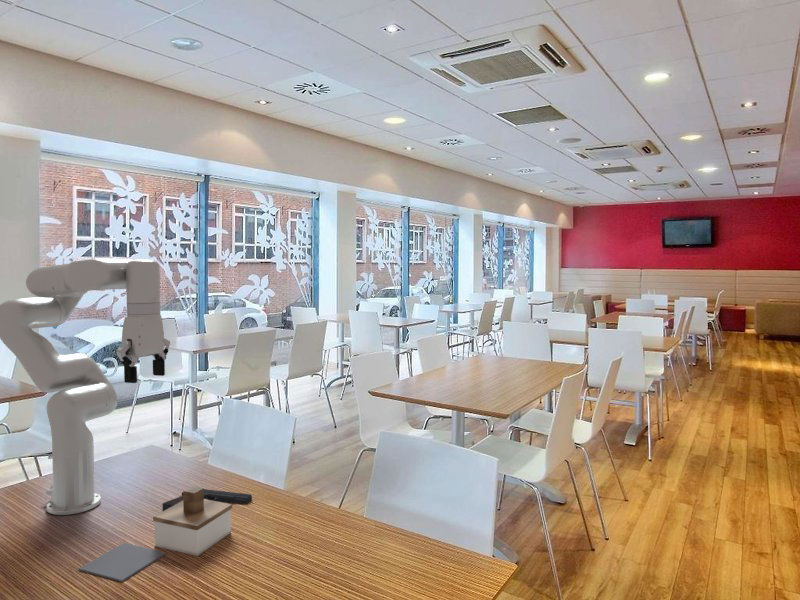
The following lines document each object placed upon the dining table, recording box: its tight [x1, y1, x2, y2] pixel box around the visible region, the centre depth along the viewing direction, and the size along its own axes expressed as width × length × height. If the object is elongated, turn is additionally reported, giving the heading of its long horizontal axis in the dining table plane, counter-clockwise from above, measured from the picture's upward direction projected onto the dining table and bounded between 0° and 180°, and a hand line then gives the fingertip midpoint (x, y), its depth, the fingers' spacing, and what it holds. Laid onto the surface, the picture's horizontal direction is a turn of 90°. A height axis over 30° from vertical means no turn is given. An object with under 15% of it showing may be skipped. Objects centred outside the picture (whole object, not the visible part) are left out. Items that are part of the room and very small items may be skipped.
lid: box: [152, 485, 233, 530], centre depth 133 cm, size 12×12×6 cm
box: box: [154, 509, 232, 557], centre depth 133 cm, size 12×12×6 cm
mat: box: [78, 542, 167, 583], centre depth 123 cm, size 12×12×1 cm
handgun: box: [162, 488, 253, 511], centre depth 153 cm, size 2×20×12 cm
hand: (145, 378), depth 140 cm, fingers open, 9 cm apart
